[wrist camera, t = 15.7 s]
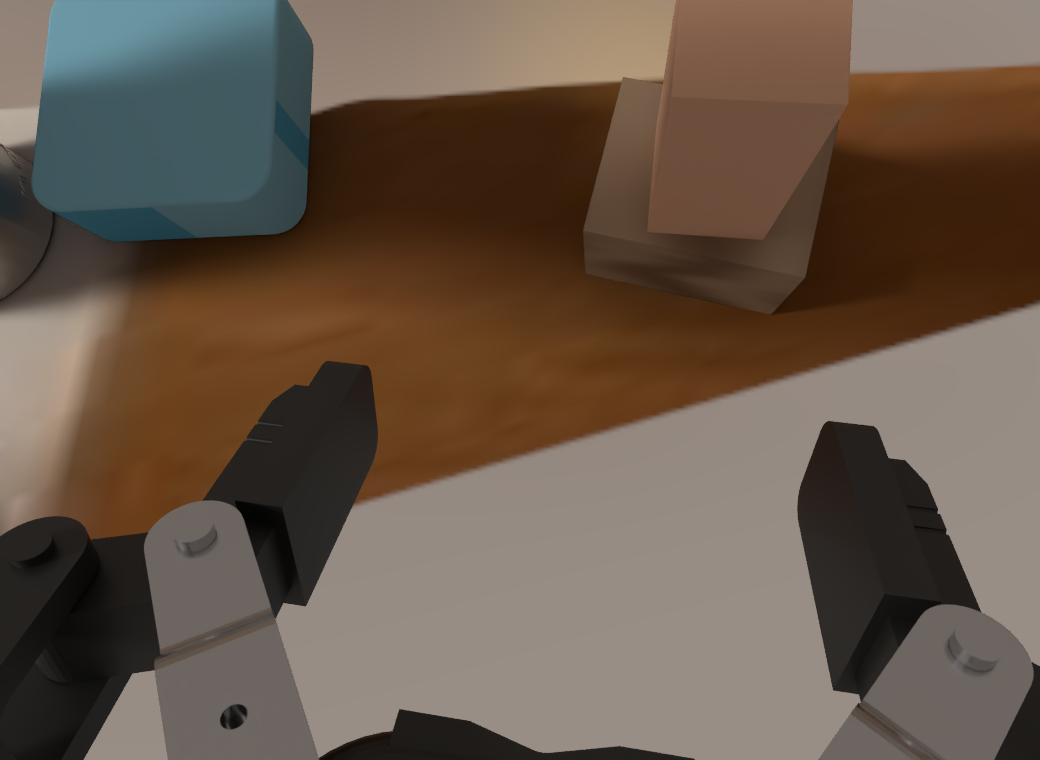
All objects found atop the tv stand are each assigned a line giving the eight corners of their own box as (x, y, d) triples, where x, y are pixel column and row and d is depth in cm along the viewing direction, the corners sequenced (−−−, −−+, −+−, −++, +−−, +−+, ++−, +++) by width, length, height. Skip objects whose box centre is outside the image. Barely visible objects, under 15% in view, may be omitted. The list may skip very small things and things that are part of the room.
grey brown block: (585, 275, 36) (582, 230, 30) (619, 145, 37) (623, 76, 31) (769, 315, 34) (805, 277, 28) (799, 180, 35) (840, 116, 29)
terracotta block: (763, 240, 29) (848, 104, 19) (647, 232, 29) (671, 97, 20) (769, 133, 30) (854, -51, 20) (656, 127, 30) (683, -54, 20)
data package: (306, 234, 37) (316, 24, 39) (267, 198, 33) (280, -36, 35) (90, 244, 39) (110, 40, 41) (24, 211, 34) (50, -16, 36)
